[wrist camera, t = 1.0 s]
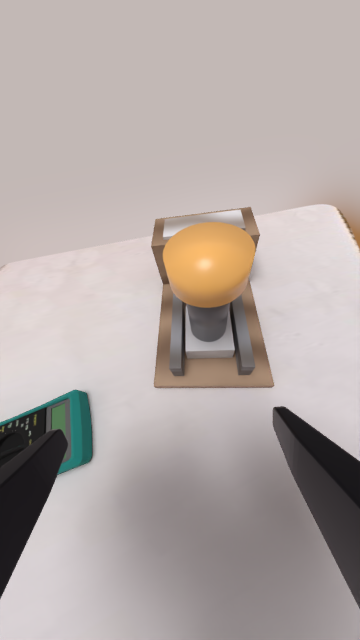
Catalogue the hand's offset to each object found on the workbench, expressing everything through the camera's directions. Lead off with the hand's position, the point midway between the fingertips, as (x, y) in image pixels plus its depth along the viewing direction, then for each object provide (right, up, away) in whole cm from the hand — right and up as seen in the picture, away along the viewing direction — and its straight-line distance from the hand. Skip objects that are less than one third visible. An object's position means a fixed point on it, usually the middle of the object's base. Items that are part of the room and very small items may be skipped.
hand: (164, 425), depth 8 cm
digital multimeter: (-16, -10, +13) cm, 23 cm away
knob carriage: (+4, +3, +15) cm, 16 cm away
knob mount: (+4, +6, +19) cm, 20 cm away
